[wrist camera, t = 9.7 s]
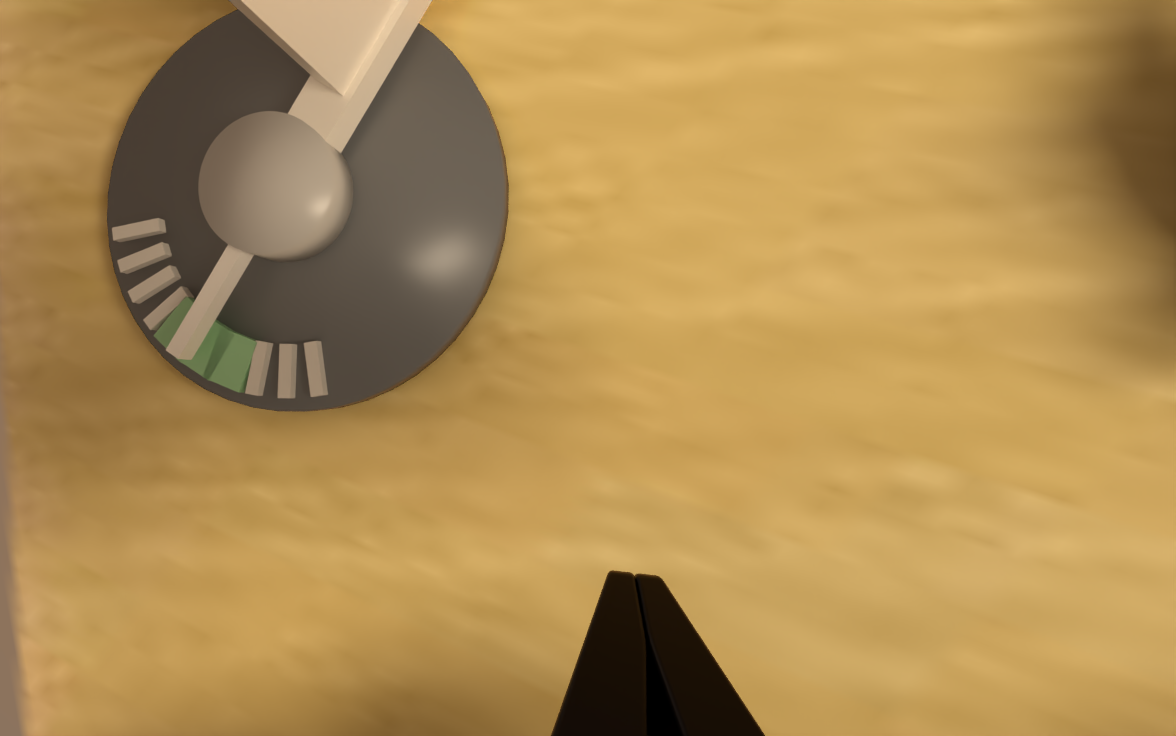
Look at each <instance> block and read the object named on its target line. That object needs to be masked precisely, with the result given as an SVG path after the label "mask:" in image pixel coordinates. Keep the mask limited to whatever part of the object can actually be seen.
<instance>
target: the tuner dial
mask: <svg viewBox="0 0 1176 736" xmlns="http://www.w3.org/2000/svg"><path fill="white" fill-rule="evenodd" d="M309 77H310V74H309V73H308V72H307V71H306V70H305V69H304V68H302V67H301V66H300V65H299V64H298V63H297V62H296V61H295V60H294V59H293V58H291V57H290V56H289V55H288V54H287V53H286V52H285V51H284V50H283V49H282V48H280V47H279V46H278V45H277V44H276V43H275V42H274V41H273V40H272V39H270V38H269V37H268V36H267V35H266V34H265V33H264V32H263V31H262V30H261V29H259V28H258V27H257V26H256V25H255V24H254V23H253V22H252V21H251V20H250V19H248V18H247V17H246V16H245V15H244V14H243V13H242V12H241V11H240V10H239V9H237V10H236V11H234V12H232V13H230V14H228V15H226V16H224V17H222V18H220V19H218V20H216V21H215V22H213V23H212V24H210V25H209V26H207V27H206V28H204V29H203V30H201V31H200V32H199V33H197V34H196V35H194V36H193V37H192V38H191V39H190V40H189V41H187V42H186V43H185V44H184V45H183V46H182V47H181V48H179V49H178V50H177V51H176V52H175V53H174V54H173V55H172V56H171V57H170V59H169V60H168V61H167V62H166V63H165V64H164V65H163V66H162V67H161V69H160V70H159V71H158V72H157V73H156V75H155V76H154V77H153V79H152V80H151V82H150V83H149V85H148V86H147V87H146V89H145V90H144V92H143V93H142V95H141V96H140V98H139V100H138V102H137V104H136V106H135V107H134V109H133V111H132V113H131V115H130V117H129V119H128V121H127V124H126V126H125V129H124V131H123V134H122V136H121V139H120V141H119V144H118V148H117V152H116V155H115V159H114V162H113V166H112V172H111V178H110V184H109V191H108V210H107V224H108V236H109V247H110V252H111V256H112V261H113V266H114V271H115V274H116V277H117V280H118V283H119V286H120V289H121V292H122V295H123V297H124V299H125V301H126V303H127V305H128V307H129V309H130V311H131V313H132V315H133V317H134V319H135V321H136V322H137V324H138V325H139V327H140V328H141V330H142V331H143V333H144V334H145V336H146V337H147V339H148V340H149V341H150V342H151V344H152V345H153V346H154V347H155V348H156V349H157V350H158V352H159V353H160V354H161V355H162V356H163V357H164V358H165V359H166V360H167V361H168V362H169V363H170V364H171V365H173V366H174V367H175V368H176V369H177V370H178V371H179V372H181V373H182V374H183V375H184V376H186V377H187V378H189V379H190V380H192V381H193V382H195V383H196V384H198V385H199V386H201V387H203V388H204V389H206V390H208V391H210V392H212V393H215V394H217V395H219V396H221V397H223V398H225V399H227V400H230V401H234V402H237V403H240V404H244V405H247V406H250V407H255V408H261V409H268V410H274V411H318V410H325V409H333V408H341V407H345V406H349V405H352V404H356V403H360V402H363V401H367V400H369V399H372V398H374V397H377V396H379V395H381V394H384V393H386V392H388V391H391V390H393V389H394V388H396V387H398V386H399V385H401V384H403V383H404V382H406V381H408V380H409V379H411V378H413V377H414V376H416V375H417V374H418V373H420V372H421V371H422V370H423V369H425V368H426V367H427V366H428V365H430V364H431V363H432V362H434V361H435V360H436V359H437V358H438V357H439V356H440V355H441V354H442V353H443V352H444V351H445V350H446V349H447V348H448V347H449V346H450V345H451V344H452V343H453V342H454V341H455V340H456V338H457V337H458V336H459V334H460V333H461V332H462V330H463V329H464V328H465V326H466V325H467V324H468V322H469V321H470V320H471V318H472V317H473V315H474V314H475V312H476V310H477V308H478V307H479V305H480V303H481V301H482V300H483V298H484V296H485V294H486V292H487V290H488V288H489V285H490V283H491V280H492V278H493V276H494V273H495V271H496V268H497V265H498V262H499V258H500V254H501V251H502V247H503V243H504V239H505V232H506V225H507V218H508V188H509V185H508V176H507V168H506V160H505V155H504V151H503V147H502V143H501V139H500V135H499V131H498V129H497V127H496V124H495V122H494V119H493V117H492V114H491V112H490V109H489V107H488V105H487V103H486V102H485V100H484V98H483V97H482V95H481V93H480V91H479V90H478V88H477V86H476V84H475V83H474V81H473V79H472V78H471V76H470V74H469V73H468V71H467V70H466V69H465V68H464V66H463V65H462V64H461V63H460V61H459V60H458V59H457V57H456V56H455V55H454V54H453V52H452V51H451V50H450V49H449V48H448V47H447V46H446V45H444V44H443V43H442V42H441V41H440V40H439V39H438V38H437V37H436V36H435V35H434V34H433V33H432V32H430V31H429V30H427V29H426V28H425V27H423V26H422V25H420V24H419V23H418V25H417V27H416V28H415V30H414V32H413V33H412V35H411V37H410V38H409V40H408V42H407V43H406V45H405V47H404V48H403V50H402V52H401V53H400V55H399V57H398V58H397V60H396V62H395V63H394V65H393V67H392V69H391V70H390V72H389V74H388V75H387V77H386V79H385V80H384V82H383V84H382V85H381V87H380V89H379V90H378V92H377V94H376V95H375V97H374V99H373V100H372V102H371V104H370V105H369V107H368V109H367V110H366V112H365V114H364V115H363V117H362V119H361V121H360V122H359V124H358V126H357V127H356V129H355V131H354V132H353V134H352V136H351V137H350V139H349V141H348V142H347V144H346V146H345V147H344V149H343V151H342V152H341V154H342V155H343V157H344V158H345V160H346V162H347V164H348V167H349V169H350V172H351V176H352V182H353V202H352V207H351V211H350V215H349V217H348V220H347V222H346V224H345V226H344V228H343V230H342V231H341V233H340V234H339V235H338V237H337V238H336V239H335V240H334V241H333V242H332V243H331V244H330V245H329V246H328V247H327V248H326V249H324V250H323V251H321V252H320V253H319V254H317V255H315V256H313V257H311V258H308V259H305V260H302V261H297V262H276V261H272V260H268V259H265V258H262V257H259V256H256V255H254V256H253V257H252V259H251V261H250V263H249V264H248V266H247V268H246V269H245V271H244V273H243V274H242V276H241V278H240V279H239V281H238V283H237V284H236V286H235V288H234V289H233V291H232V293H231V294H230V296H229V298H228V300H227V301H226V303H225V305H224V306H223V308H222V310H221V311H220V313H219V315H218V316H217V318H216V320H215V321H214V323H213V325H212V326H211V328H210V330H209V332H208V333H207V335H206V337H205V338H204V340H203V342H202V343H201V345H200V347H199V348H198V350H197V352H196V353H195V355H194V357H193V358H192V360H185V359H177V358H176V357H174V356H173V355H172V354H170V353H169V352H167V351H166V348H167V347H168V345H169V343H170V342H171V340H172V338H173V337H174V335H175V333H176V332H177V330H178V328H179V327H180V325H181V323H182V321H183V320H184V318H185V316H186V315H187V313H188V311H189V310H190V308H191V306H192V305H193V303H194V301H195V300H196V298H197V296H198V294H199V293H200V291H201V289H202V288H203V286H204V284H205V283H206V281H207V279H208V278H209V276H210V274H211V273H212V271H213V269H214V267H215V266H216V264H217V262H218V261H219V259H220V257H221V256H222V254H223V252H224V251H225V249H226V247H227V246H228V244H227V243H226V242H224V241H223V240H222V239H221V238H220V237H219V236H218V235H217V234H216V233H215V232H214V231H213V230H212V228H211V227H210V226H209V224H208V222H207V220H206V219H205V216H204V214H203V211H202V208H201V205H200V200H199V192H198V182H199V174H200V169H201V165H202V162H203V160H204V157H205V155H206V153H207V151H208V149H209V147H210V146H211V144H212V143H213V141H214V140H215V138H216V137H217V136H218V135H219V134H220V133H221V132H222V131H223V130H224V129H225V128H226V127H227V126H229V125H230V124H231V123H233V122H234V121H236V120H238V119H240V118H242V117H244V116H247V115H249V114H252V113H257V112H263V111H277V112H282V113H287V114H288V112H289V111H290V109H291V107H292V105H293V104H294V102H295V100H296V99H297V97H298V95H299V94H300V92H301V90H302V89H303V87H304V85H305V83H306V82H307V80H308V78H309Z"/></svg>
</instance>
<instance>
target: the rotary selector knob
mask: <svg viewBox="0 0 1176 736" xmlns="http://www.w3.org/2000/svg"><path fill="white" fill-rule="evenodd" d="M229 1H230V2H231V3H232V4H233V5H234V6H235V7H236V8H237V9H239V10H240V11H241V12H242V13H243V14H244V15H245V16H246V17H247V18H248V19H250V20H251V21H252V22H253V23H254V24H255V25H256V26H257V27H258V28H259V29H261V30H262V31H263V32H264V33H265V34H266V35H267V36H268V37H269V38H270V39H272V40H273V41H274V42H275V43H276V44H277V45H278V46H279V47H280V48H282V49H283V50H284V51H285V52H286V53H287V54H288V55H289V56H290V57H291V58H293V59H294V60H295V61H296V62H297V63H298V64H299V65H300V66H301V67H302V68H304V69H305V70H306V71H307V72H308V73H309V74H310V77H309V78H308V80H307V82H306V83H305V85H304V87H303V89H302V90H301V92H300V94H299V95H298V97H297V99H296V100H295V102H294V104H293V105H292V107H291V109H290V111H289V112H288V114H287V113H282V112H277V111H263V112H257V113H252V114H249V115H247V116H244V117H242V118H240V119H238V120H236V121H234V122H233V123H231V124H230V125H229V126H227V127H226V128H225V129H224V130H223V131H222V132H221V133H220V134H219V135H218V136H217V137H216V138H215V140H214V141H213V143H212V144H211V146H210V147H209V149H208V151H207V153H206V155H205V157H204V160H203V162H202V165H201V169H200V174H199V182H198V192H199V200H200V205H201V208H202V211H203V214H204V216H205V219H206V220H207V222H208V224H209V226H210V227H211V228H212V230H213V231H214V232H215V233H216V234H217V235H218V236H219V237H220V238H221V239H222V240H223V241H224V242H226V243H227V244H228V246H227V247H226V249H225V251H224V252H223V254H222V256H221V257H220V259H219V261H218V262H217V264H216V266H215V267H214V269H213V271H212V273H211V274H210V276H209V278H208V279H207V281H206V283H205V284H204V286H203V288H202V289H201V291H200V293H199V294H198V296H197V298H196V300H195V301H194V303H193V305H192V306H191V308H190V310H189V311H188V313H187V315H186V316H185V318H184V320H183V321H182V323H181V325H180V327H179V328H178V330H177V332H176V333H175V335H174V337H173V338H172V340H171V342H170V343H169V345H168V347H167V348H166V351H167V352H169V353H170V354H172V355H173V356H174V357H176V358H177V359H185V360H192V358H193V357H194V355H195V353H196V352H197V350H198V348H199V347H200V345H201V343H202V342H203V340H204V338H205V337H206V335H207V333H208V332H209V330H210V328H211V326H212V325H213V323H214V321H215V320H216V318H217V316H218V315H219V313H220V311H221V310H222V308H223V306H224V305H225V303H226V301H227V300H228V298H229V296H230V294H231V293H232V291H233V289H234V288H235V286H236V284H237V283H238V281H239V279H240V278H241V276H242V274H243V273H244V271H245V269H246V268H247V266H248V264H249V263H250V261H251V259H252V257H253V256H254V255H256V256H259V257H262V258H265V259H268V260H272V261H276V262H297V261H302V260H305V259H308V258H311V257H313V256H315V255H317V254H319V253H320V252H321V251H323V250H324V249H326V248H327V247H328V246H329V245H330V244H331V243H332V242H333V241H334V240H335V239H336V238H337V237H338V235H339V234H340V233H341V231H342V230H343V228H344V226H345V224H346V222H347V220H348V217H349V215H350V211H351V207H352V202H353V182H352V176H351V172H350V169H349V167H348V164H347V162H346V160H345V158H344V157H343V155H342V154H341V152H342V151H343V149H344V147H345V146H346V144H347V142H348V141H349V139H350V137H351V136H352V134H353V132H354V131H355V129H356V127H357V126H358V124H359V122H360V121H361V119H362V117H363V115H364V114H365V112H366V110H367V109H368V107H369V105H370V104H371V102H372V100H373V99H374V97H375V95H376V94H377V92H378V90H379V89H380V87H381V85H382V84H383V82H384V80H385V79H386V77H387V75H388V74H389V72H390V70H391V69H392V67H393V65H394V63H395V62H396V60H397V58H398V57H399V55H400V53H401V52H402V50H403V48H404V47H405V45H406V43H407V42H408V40H409V38H410V37H411V35H412V33H413V32H414V30H415V28H416V27H417V25H418V23H419V22H420V20H421V18H422V16H423V15H424V13H425V11H426V10H427V8H428V6H429V5H430V3H431V1H432V0H229Z"/></svg>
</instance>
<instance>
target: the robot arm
mask: <svg viewBox="0 0 1176 736" xmlns="http://www.w3.org/2000/svg"><path fill="white" fill-rule="evenodd" d="M551 736H765V735H764V733H763V732H762V730H761V729H760V727H759V726H758V724H757V722H756V721H755V719H754V718H753V716H752V715H751V713H750V712H749V710H748V709H747V707H746V706H745V704H744V703H743V701H742V700H741V698H740V697H739V695H738V694H737V692H736V691H735V689H734V688H733V686H732V684H731V683H730V681H729V680H728V678H727V677H726V675H725V674H724V672H723V671H722V669H721V668H720V666H719V665H718V663H717V662H716V660H715V659H714V657H713V656H712V654H711V653H710V651H709V649H708V648H707V646H706V645H705V643H704V642H703V640H702V639H701V637H700V636H699V634H698V633H697V631H696V630H695V628H694V627H693V625H692V624H691V622H690V621H689V619H688V618H687V616H686V615H685V613H684V611H683V610H682V608H681V607H680V605H679V604H678V602H677V601H676V599H675V598H674V596H673V595H672V593H671V592H670V590H669V589H668V587H667V586H666V584H665V583H664V581H663V580H662V579H661V578H660V577H659V576H656V575H647V574H636V575H635V576H634V575H633V574H632V573H630V572H621V571H610V572H609V573H608V575H607V577H606V580H605V583H604V586H603V589H602V592H601V595H600V597H599V600H598V603H597V606H596V609H595V612H594V615H593V617H592V620H591V623H590V626H589V629H588V632H587V634H586V637H585V640H584V643H583V646H582V649H581V652H580V654H579V657H578V660H577V663H576V666H575V669H574V671H573V674H572V677H571V680H570V683H569V686H568V689H567V691H566V694H565V697H564V700H563V703H562V706H561V709H560V711H559V714H558V717H557V720H556V723H555V726H554V728H553V731H552V734H551Z"/></svg>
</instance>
